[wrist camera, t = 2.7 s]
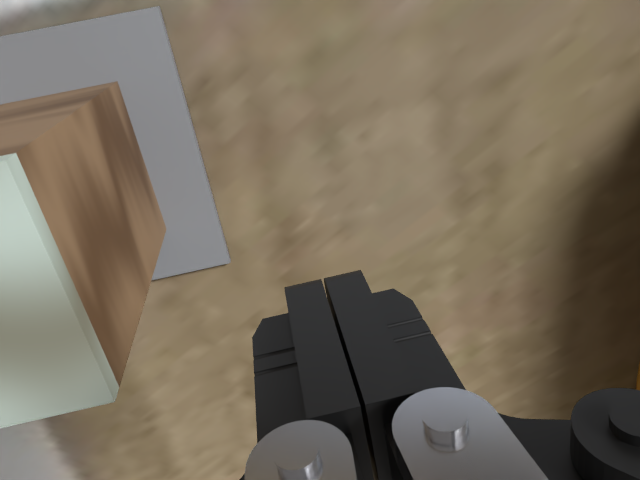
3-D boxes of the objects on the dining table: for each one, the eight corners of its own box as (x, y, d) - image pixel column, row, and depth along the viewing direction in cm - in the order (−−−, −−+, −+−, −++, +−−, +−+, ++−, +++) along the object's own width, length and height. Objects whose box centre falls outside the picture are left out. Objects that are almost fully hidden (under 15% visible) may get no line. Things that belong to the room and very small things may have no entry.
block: (-3, 105, 22) (-233, 208, 11) (117, 81, 22) (5, 159, 11) (62, 251, 25) (-70, 444, 14) (166, 229, 25) (115, 401, 14)
